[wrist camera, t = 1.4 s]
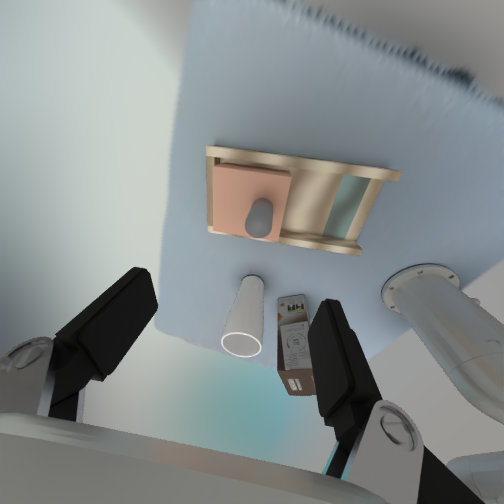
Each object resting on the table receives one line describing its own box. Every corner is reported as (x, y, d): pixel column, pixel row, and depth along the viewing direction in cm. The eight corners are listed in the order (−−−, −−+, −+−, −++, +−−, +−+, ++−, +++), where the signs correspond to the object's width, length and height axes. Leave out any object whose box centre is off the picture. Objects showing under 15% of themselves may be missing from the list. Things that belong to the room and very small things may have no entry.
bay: (386, 168, 26) (402, 171, 23) (350, 244, 33) (359, 256, 30) (214, 145, 28) (205, 145, 24) (214, 223, 34) (207, 231, 31)
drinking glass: (233, 276, 41) (212, 336, 28) (259, 267, 39) (250, 328, 26) (246, 297, 44) (233, 360, 31) (272, 290, 41) (269, 354, 29)
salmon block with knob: (289, 171, 27) (295, 187, 17) (278, 225, 32) (277, 264, 22) (224, 162, 27) (193, 172, 17) (223, 217, 32) (197, 250, 22)
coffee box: (276, 297, 42) (275, 370, 29) (303, 293, 41) (316, 368, 27) (285, 322, 47) (288, 396, 33) (310, 320, 45) (324, 396, 31)
